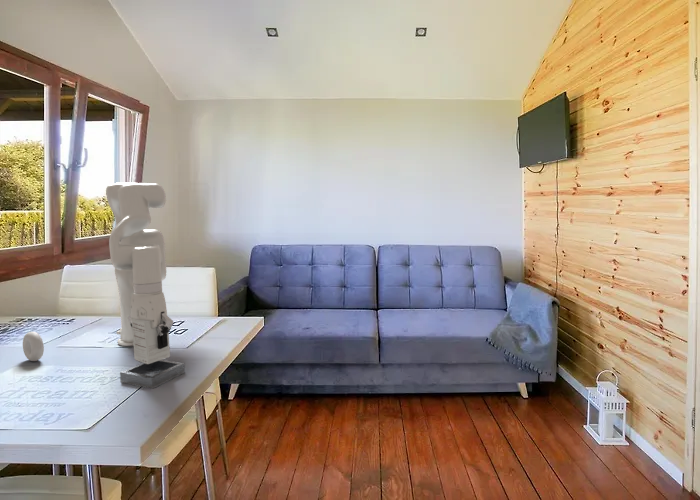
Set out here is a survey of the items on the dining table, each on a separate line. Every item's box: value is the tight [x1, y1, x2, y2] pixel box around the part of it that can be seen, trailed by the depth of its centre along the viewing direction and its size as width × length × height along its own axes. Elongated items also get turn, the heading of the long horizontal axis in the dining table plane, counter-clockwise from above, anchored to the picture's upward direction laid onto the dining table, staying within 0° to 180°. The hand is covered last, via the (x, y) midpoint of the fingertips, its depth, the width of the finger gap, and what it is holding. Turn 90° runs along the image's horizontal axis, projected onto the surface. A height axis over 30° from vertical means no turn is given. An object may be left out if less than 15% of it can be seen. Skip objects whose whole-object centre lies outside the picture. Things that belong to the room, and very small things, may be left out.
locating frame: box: [119, 359, 186, 389], centre depth 128 cm, size 12×12×3 cm
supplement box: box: [132, 319, 171, 364], centre depth 127 cm, size 7×7×13 cm
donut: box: [22, 331, 45, 362], centre depth 142 cm, size 10×4×10 cm, turn 57°
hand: (151, 345), depth 127 cm, fingers closed on supplement box, 8 cm apart
